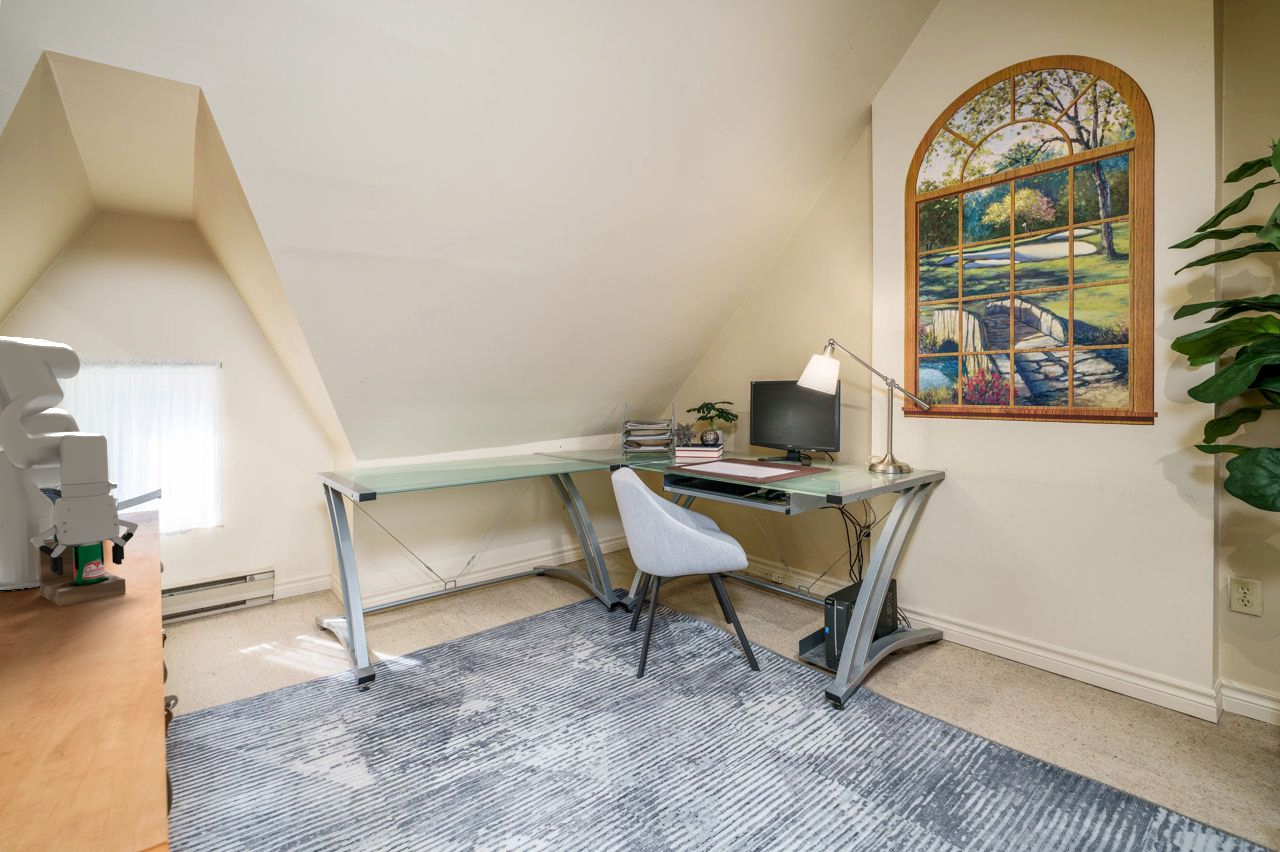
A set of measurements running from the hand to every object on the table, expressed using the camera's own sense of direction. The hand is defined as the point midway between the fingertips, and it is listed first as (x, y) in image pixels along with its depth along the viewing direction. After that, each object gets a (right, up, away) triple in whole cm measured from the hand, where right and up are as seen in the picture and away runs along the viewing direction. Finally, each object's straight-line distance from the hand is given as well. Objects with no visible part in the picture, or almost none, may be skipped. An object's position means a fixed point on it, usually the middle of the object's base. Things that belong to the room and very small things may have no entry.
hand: (88, 568), depth 128 cm
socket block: (-2, -6, +1) cm, 6 cm away
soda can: (0, -6, 0) cm, 6 cm away
